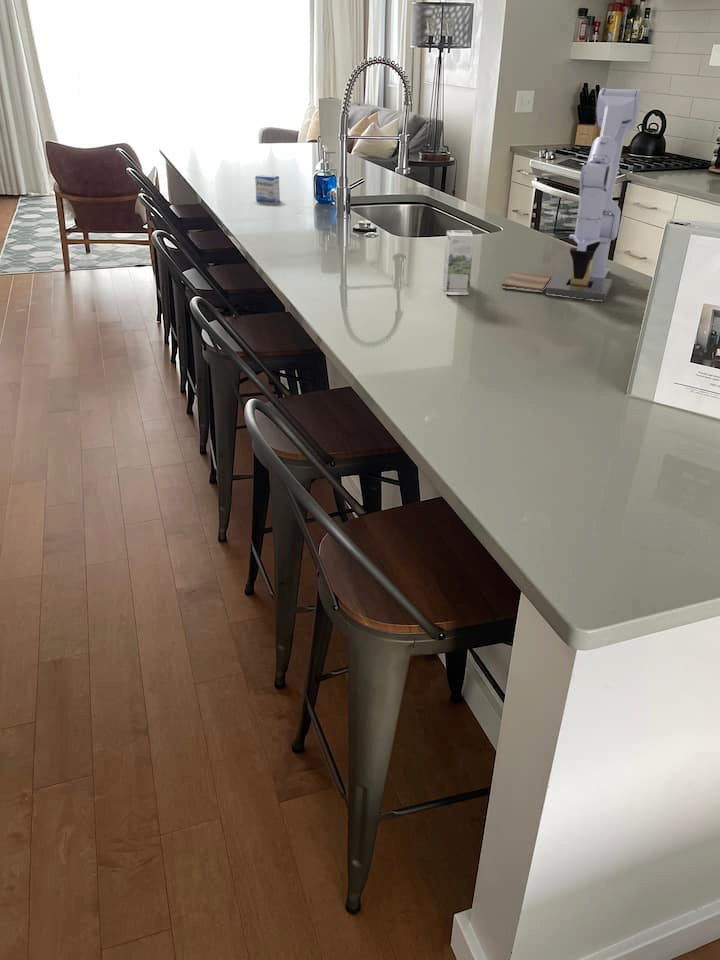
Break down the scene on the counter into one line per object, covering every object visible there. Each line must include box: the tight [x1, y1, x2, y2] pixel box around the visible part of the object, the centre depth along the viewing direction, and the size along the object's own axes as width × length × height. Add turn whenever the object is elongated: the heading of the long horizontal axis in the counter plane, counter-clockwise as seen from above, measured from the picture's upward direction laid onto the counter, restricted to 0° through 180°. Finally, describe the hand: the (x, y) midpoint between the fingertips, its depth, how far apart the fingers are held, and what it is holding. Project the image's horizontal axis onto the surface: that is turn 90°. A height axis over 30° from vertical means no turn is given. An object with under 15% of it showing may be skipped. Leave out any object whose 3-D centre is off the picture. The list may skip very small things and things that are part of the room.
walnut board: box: [501, 271, 553, 292], centre depth 199 cm, size 12×10×1 cm
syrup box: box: [442, 229, 475, 293], centre depth 189 cm, size 6×6×14 cm
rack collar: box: [544, 272, 613, 301], centre depth 194 cm, size 14×14×2 cm
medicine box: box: [254, 174, 281, 203], centre depth 292 cm, size 8×4×9 cm, turn 73°
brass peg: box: [570, 258, 593, 288], centre depth 192 cm, size 4×4×8 cm
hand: (581, 274), depth 192 cm, fingers open, 7 cm apart
